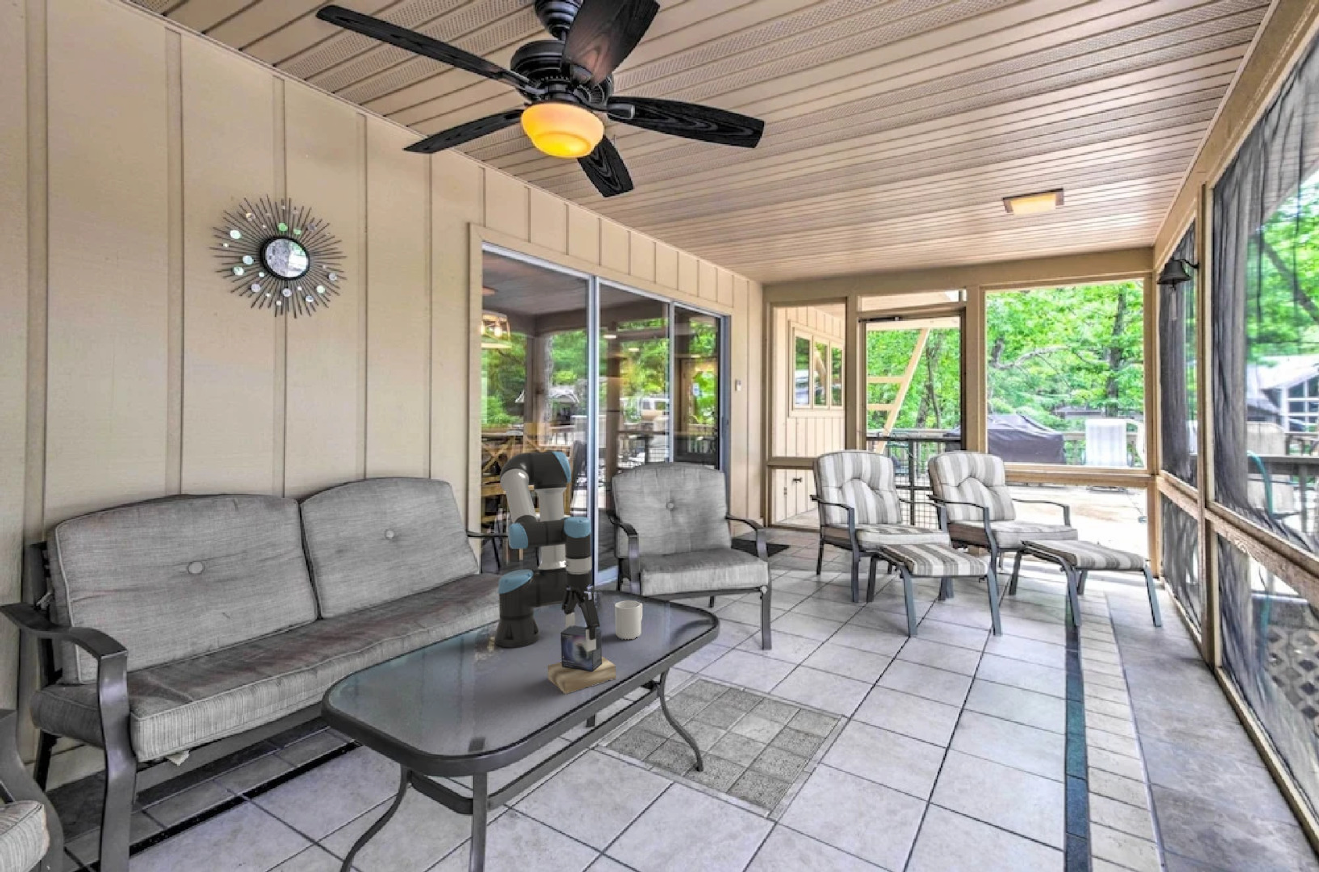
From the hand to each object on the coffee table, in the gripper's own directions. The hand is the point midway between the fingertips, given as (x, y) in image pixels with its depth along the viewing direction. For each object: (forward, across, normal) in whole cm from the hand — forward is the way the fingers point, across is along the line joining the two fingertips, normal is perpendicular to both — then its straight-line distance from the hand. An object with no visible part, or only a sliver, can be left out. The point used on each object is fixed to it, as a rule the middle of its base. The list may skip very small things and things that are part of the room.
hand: (580, 642), depth 176 cm
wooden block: (+11, +1, 0) cm, 11 cm away
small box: (+7, +1, 0) cm, 7 cm away
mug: (+11, -21, +30) cm, 38 cm away
